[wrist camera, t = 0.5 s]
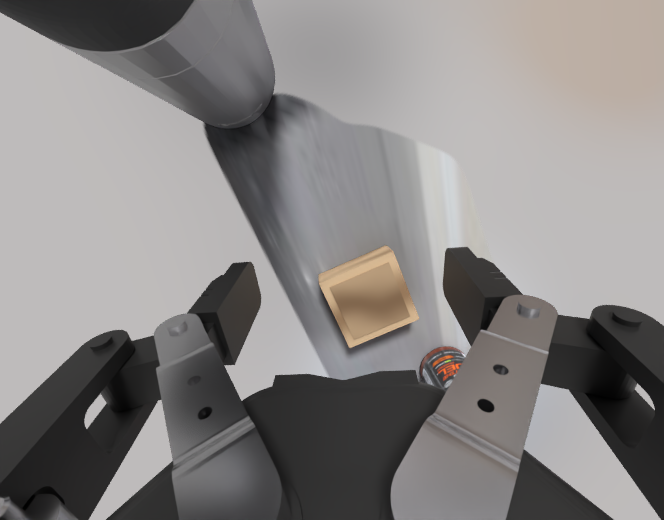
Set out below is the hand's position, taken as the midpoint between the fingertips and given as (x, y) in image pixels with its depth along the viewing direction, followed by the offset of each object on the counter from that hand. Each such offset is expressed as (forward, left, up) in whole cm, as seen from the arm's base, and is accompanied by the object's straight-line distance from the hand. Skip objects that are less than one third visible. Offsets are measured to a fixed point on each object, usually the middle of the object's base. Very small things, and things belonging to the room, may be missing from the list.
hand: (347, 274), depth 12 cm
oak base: (+9, +1, -19) cm, 21 cm away
